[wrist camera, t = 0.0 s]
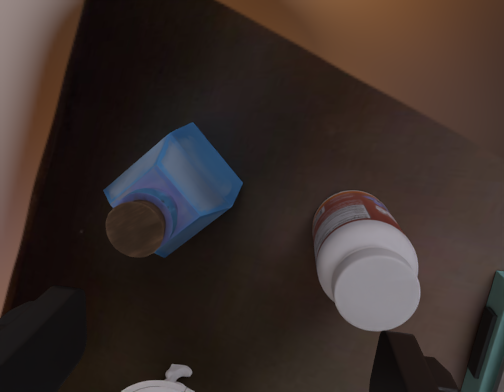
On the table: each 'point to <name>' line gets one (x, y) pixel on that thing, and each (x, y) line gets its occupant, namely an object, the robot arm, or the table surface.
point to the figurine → (165, 381)
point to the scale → (488, 342)
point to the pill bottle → (365, 261)
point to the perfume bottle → (169, 195)
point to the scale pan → (499, 379)
